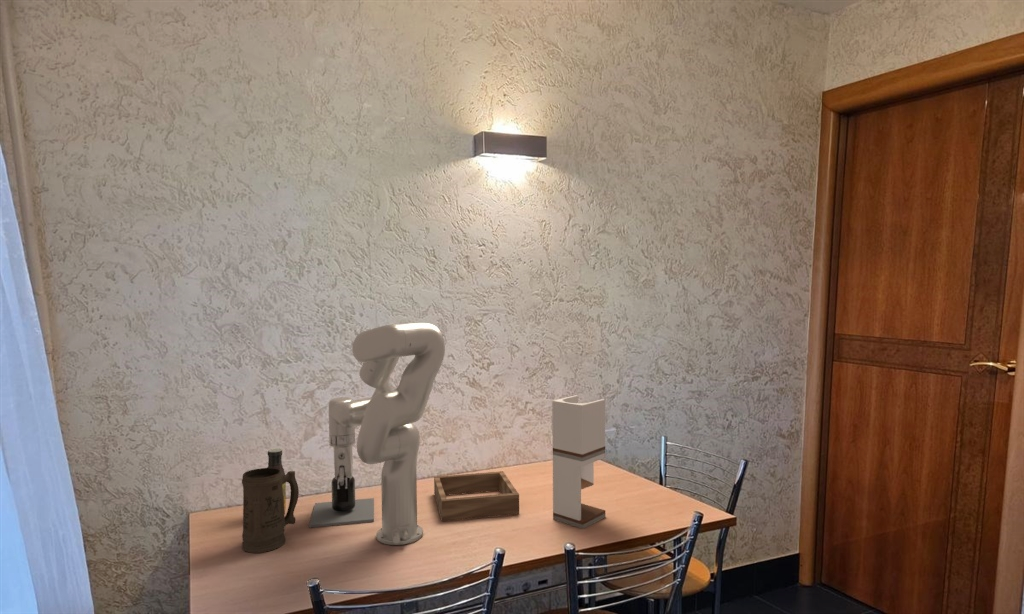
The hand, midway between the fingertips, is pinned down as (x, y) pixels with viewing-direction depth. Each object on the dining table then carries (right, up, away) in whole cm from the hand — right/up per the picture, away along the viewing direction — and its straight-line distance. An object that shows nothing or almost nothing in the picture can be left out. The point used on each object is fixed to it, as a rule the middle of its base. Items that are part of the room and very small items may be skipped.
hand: (343, 496), depth 182 cm
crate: (+39, -5, +7) cm, 40 cm away
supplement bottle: (0, -4, 0) cm, 4 cm away
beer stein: (-14, -6, -19) cm, 25 cm away
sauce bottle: (-20, -6, -1) cm, 21 cm away
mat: (0, -5, 0) cm, 5 cm away
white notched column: (+71, -5, -5) cm, 71 cm away
